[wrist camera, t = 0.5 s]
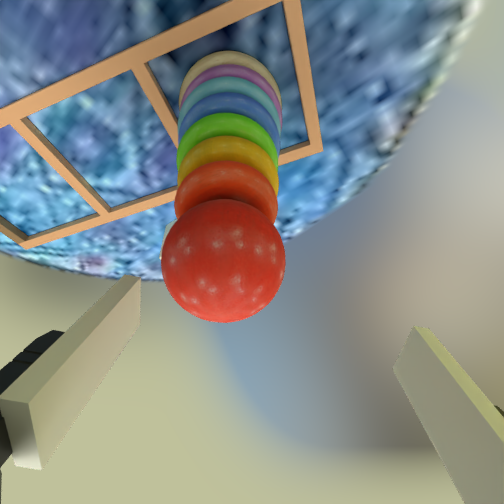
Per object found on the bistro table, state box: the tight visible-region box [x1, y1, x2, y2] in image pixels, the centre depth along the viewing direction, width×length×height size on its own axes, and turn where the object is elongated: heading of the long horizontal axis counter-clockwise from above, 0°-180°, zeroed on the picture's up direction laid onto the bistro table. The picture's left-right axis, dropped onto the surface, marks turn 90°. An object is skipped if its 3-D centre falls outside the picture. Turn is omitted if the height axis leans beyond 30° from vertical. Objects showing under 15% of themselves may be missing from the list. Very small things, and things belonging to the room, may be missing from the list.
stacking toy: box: [161, 51, 285, 323], centre depth 16 cm, size 8×8×19 cm
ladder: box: [0, 0, 323, 249], centre depth 24 cm, size 12×34×1 cm, turn 109°
